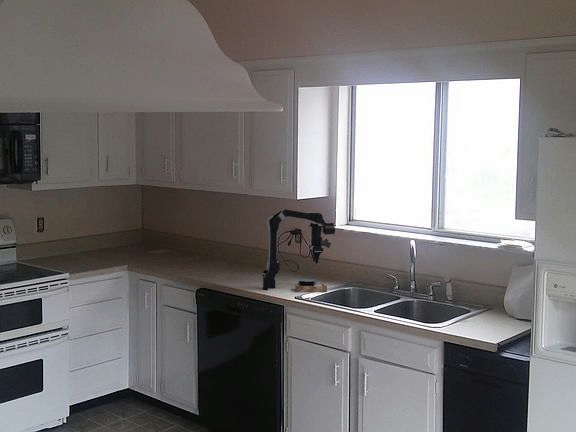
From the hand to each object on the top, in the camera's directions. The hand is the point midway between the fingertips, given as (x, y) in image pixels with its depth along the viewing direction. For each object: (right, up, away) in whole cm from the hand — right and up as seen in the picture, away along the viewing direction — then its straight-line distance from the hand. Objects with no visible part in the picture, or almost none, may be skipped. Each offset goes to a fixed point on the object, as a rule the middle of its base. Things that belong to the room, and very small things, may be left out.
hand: (315, 262), depth 420 cm
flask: (-5, -14, -2) cm, 15 cm away
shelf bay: (-3, -14, -14) cm, 20 cm away
